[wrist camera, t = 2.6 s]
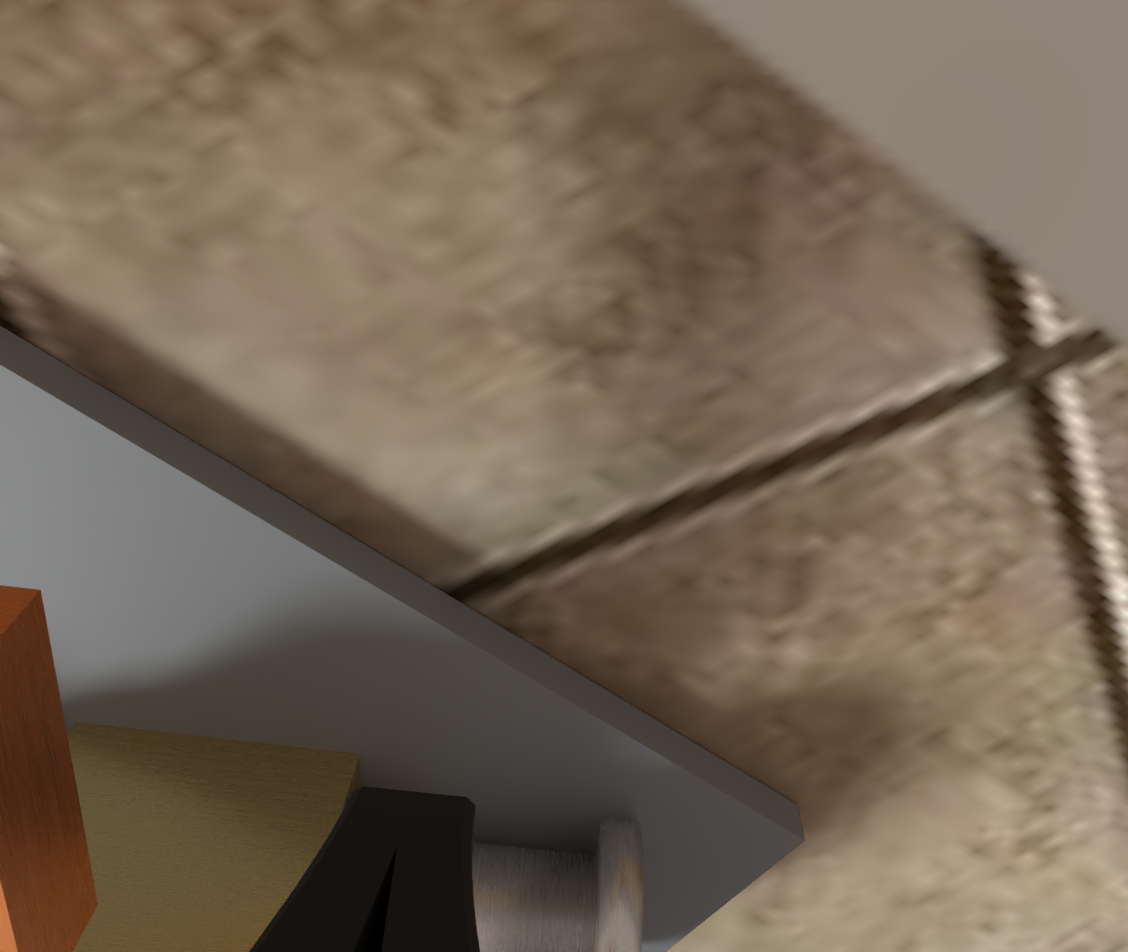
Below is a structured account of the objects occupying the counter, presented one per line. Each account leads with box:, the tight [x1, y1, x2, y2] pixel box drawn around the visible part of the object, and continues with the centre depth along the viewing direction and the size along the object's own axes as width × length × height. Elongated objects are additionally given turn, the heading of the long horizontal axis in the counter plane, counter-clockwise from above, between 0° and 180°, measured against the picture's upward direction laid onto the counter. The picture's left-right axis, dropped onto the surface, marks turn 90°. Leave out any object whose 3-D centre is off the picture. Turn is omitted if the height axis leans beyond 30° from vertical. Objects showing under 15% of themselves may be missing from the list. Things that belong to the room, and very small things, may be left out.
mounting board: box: [0, 326, 804, 952], centre depth 23 cm, size 20×16×1 cm
